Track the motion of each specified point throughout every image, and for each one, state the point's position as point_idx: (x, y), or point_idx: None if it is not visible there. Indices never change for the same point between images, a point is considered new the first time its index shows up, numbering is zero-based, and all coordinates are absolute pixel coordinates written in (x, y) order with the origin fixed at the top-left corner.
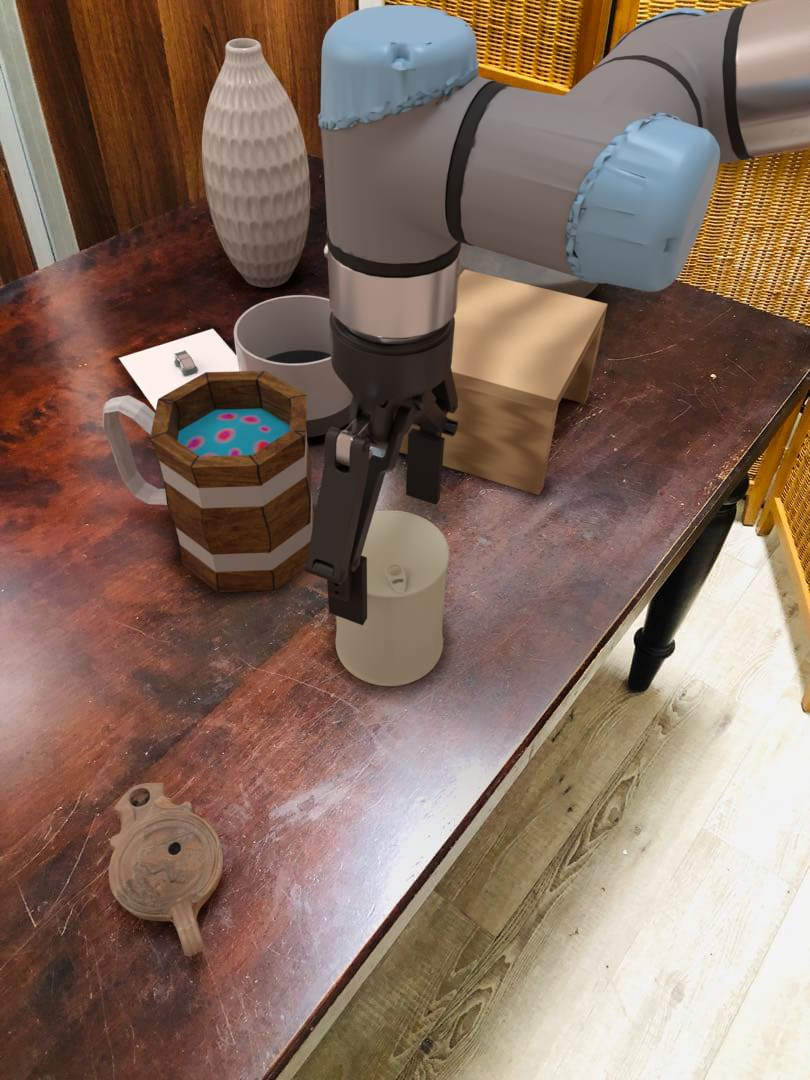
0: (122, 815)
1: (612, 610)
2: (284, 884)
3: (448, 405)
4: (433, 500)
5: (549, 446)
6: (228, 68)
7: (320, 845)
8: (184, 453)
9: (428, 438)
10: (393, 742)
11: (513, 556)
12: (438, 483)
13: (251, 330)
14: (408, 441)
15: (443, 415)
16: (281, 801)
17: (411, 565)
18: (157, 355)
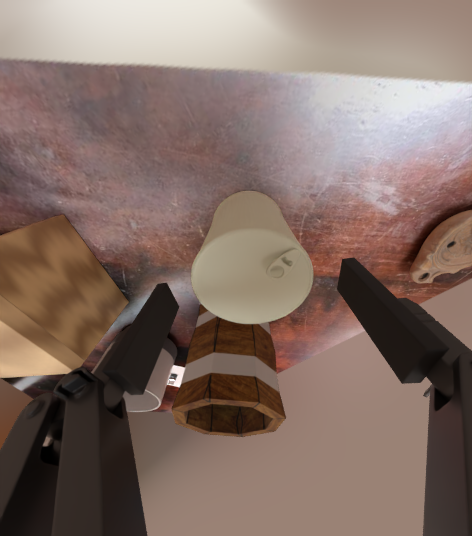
0: (435, 276)
1: (86, 70)
2: (448, 175)
3: (41, 432)
4: (166, 288)
5: (7, 233)
6: None
7: (415, 172)
8: (275, 422)
9: (125, 381)
10: (320, 177)
11: (124, 197)
12: (152, 304)
13: (142, 396)
14: (149, 378)
15: (66, 437)
16: (385, 214)
17: (254, 261)
18: (177, 383)
